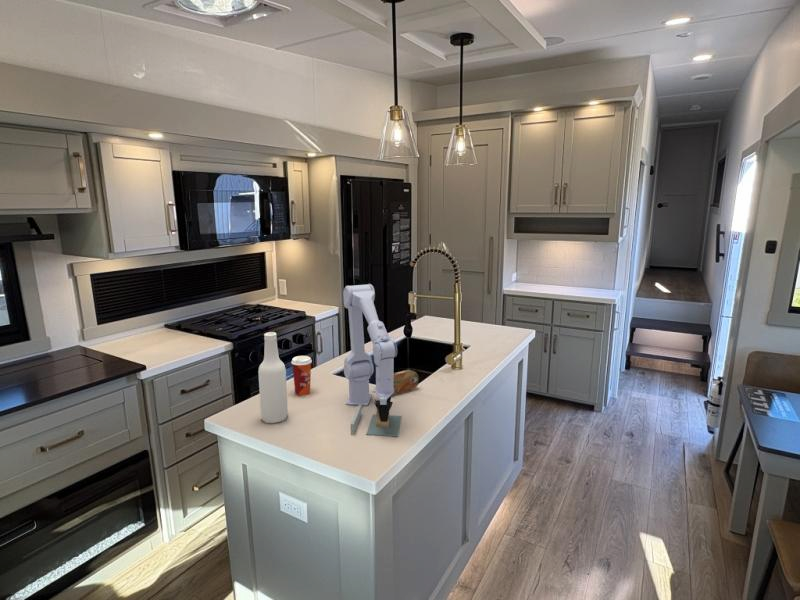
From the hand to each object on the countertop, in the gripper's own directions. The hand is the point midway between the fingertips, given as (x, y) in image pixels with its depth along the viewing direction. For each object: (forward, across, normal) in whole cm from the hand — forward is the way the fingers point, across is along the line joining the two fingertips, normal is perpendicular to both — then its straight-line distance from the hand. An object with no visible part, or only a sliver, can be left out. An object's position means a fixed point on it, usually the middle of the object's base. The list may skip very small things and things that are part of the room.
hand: (384, 415), depth 149 cm
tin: (+4, -28, +5) cm, 28 cm away
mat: (+3, 0, 0) cm, 3 cm away
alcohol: (+4, -3, -38) cm, 38 cm away
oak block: (+3, 0, -1) cm, 3 cm away
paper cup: (+4, -25, -33) cm, 42 cm away
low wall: (+3, -1, -10) cm, 10 cm away
